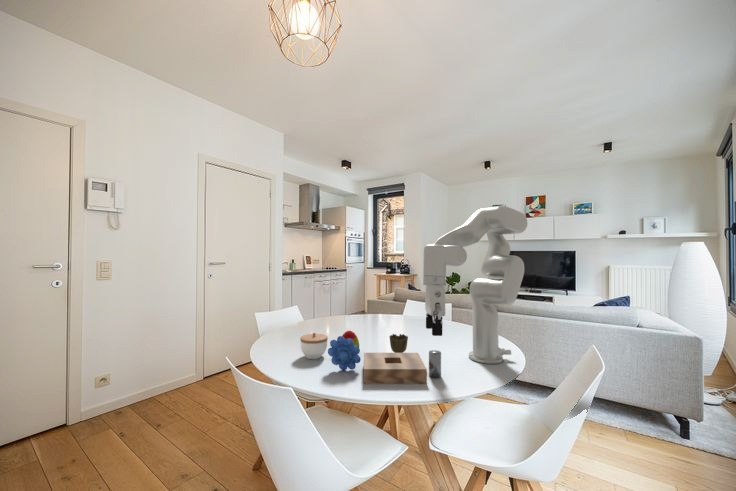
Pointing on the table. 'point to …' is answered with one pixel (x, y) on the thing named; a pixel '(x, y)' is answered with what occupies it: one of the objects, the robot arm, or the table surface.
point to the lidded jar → (313, 345)
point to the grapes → (344, 353)
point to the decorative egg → (351, 337)
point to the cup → (398, 343)
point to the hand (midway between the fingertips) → (433, 331)
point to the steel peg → (434, 364)
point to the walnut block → (394, 368)
